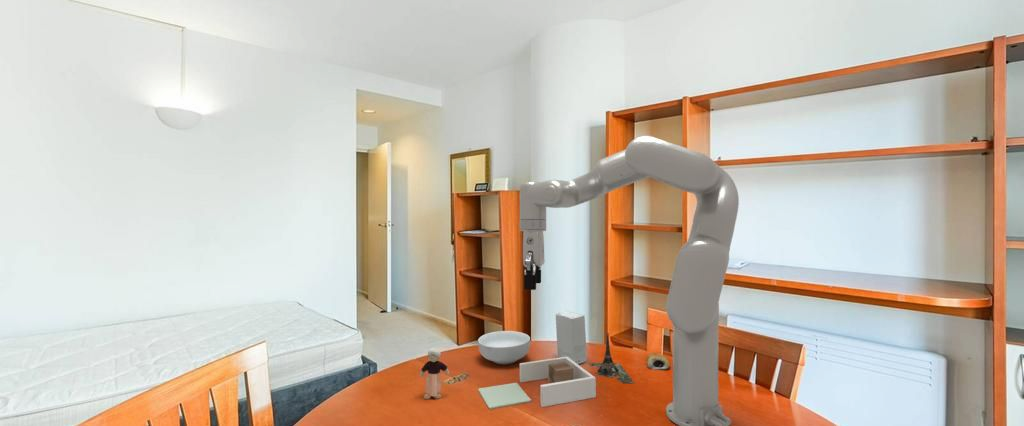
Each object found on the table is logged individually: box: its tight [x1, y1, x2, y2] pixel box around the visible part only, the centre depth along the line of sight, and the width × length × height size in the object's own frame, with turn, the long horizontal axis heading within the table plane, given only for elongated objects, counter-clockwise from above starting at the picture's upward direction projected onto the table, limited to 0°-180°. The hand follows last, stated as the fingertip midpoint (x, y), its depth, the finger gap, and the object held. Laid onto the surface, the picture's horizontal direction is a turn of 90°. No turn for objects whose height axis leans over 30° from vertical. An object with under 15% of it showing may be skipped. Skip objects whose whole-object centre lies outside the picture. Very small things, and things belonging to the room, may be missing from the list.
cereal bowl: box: [477, 330, 531, 365], centre depth 129 cm, size 17×17×7 cm
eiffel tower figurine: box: [588, 329, 635, 384], centre depth 118 cm, size 15×10×13 cm
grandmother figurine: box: [418, 347, 450, 400], centre depth 104 cm, size 8×4×13 cm, turn 105°
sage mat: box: [477, 382, 532, 410], centre depth 104 cm, size 11×11×1 cm
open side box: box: [519, 357, 597, 408], centre depth 108 cm, size 16×15×5 cm
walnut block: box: [548, 362, 573, 384], centre depth 108 cm, size 5×5×6 cm
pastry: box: [645, 352, 671, 371], centre depth 124 cm, size 9×7×4 cm
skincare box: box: [555, 310, 588, 365], centre depth 128 cm, size 8×6×15 cm
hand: (533, 286), depth 113 cm, fingers open, 9 cm apart
